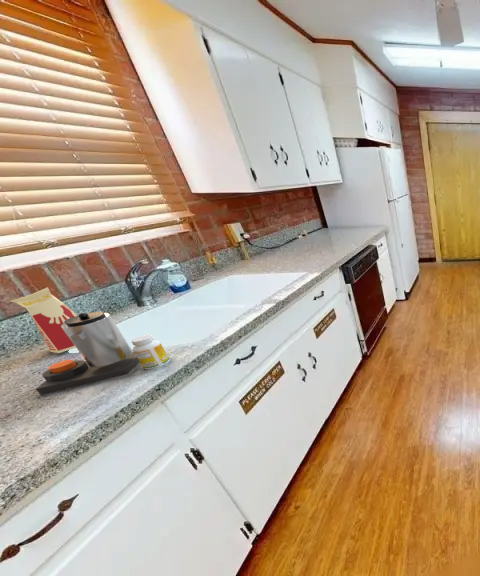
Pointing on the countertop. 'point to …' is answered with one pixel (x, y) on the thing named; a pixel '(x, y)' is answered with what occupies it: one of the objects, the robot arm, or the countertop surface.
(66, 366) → the power button
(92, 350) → the kettle
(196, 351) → the countertop surface
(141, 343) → the supplement bottle
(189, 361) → the countertop surface
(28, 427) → the countertop surface
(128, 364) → the push button panel
